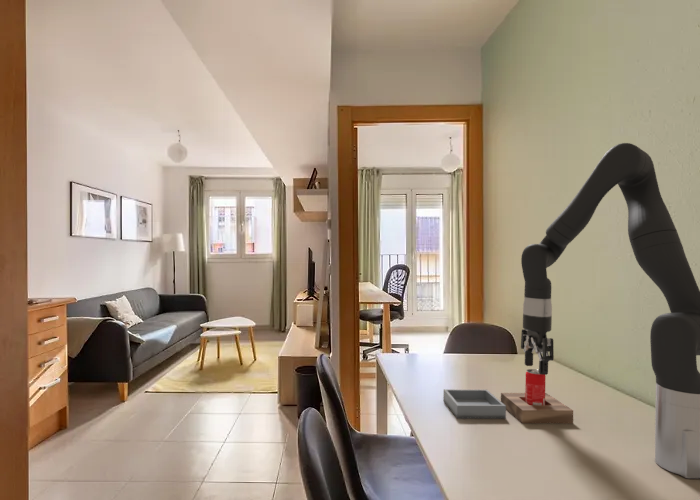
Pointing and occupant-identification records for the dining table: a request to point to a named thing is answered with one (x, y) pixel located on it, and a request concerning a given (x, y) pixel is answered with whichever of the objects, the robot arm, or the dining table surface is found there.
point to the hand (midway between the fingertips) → (535, 369)
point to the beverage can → (535, 387)
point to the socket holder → (537, 409)
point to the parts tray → (474, 404)
